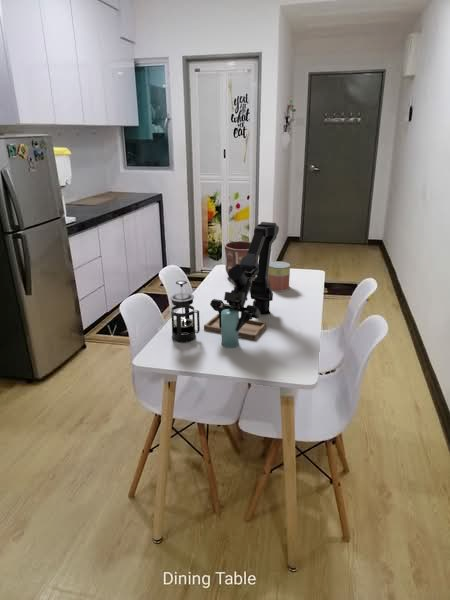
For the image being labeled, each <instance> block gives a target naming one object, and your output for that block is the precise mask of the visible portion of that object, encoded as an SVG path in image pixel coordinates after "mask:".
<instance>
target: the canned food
mask: <svg viewBox="0 0 450 600" xmlns="http://www.w3.org/2000/svg"><path fill="white" fill-rule="evenodd" d="M290 274H291V264H290V263H289V262H286V261H276V260H275V261H271V262H269V270H268V280H269V282H270V284H271V285H270V288H271V290H272V291H274V292H282V291H287V290H289V289H290Z"/></svg>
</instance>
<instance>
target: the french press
mask: <svg viewBox="0 0 450 600" xmlns="http://www.w3.org/2000/svg"><path fill="white" fill-rule="evenodd" d="M187 283H188V281H187V280H177V281H176V282H175V284H176V285H179V286H180V290H181V291H180V292H178V293H177V292H176V293H174V294H172V295H170V297H169V299H170V300H171V304H172V305H173V306H172V307H171V308H170V314H171V339H172V340H173V341H174V342H176V343H183V344H184V343H190V342H192V341H195V339H196V338H197V334H199V333H200V331H201V328H200V327H201V326H200V310H198V309H195V306H193V305H192V304H194V299H195V296H194V294H192V293H190V292H189V293H188V292H183V286H184V285H187ZM177 309H181V313H179V312H174V311H175V310H177ZM190 310H192V311H190ZM195 313H196V316H195ZM190 316H192V317H191V318H190ZM175 317H176V318H175ZM195 318H197V319H195ZM196 321H197V322H196ZM195 322H196V323H197V327H196V324H195ZM196 328H197V329H196ZM184 333H185V334H184Z"/></svg>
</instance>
